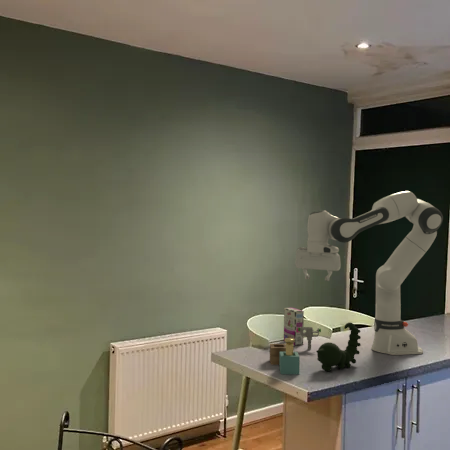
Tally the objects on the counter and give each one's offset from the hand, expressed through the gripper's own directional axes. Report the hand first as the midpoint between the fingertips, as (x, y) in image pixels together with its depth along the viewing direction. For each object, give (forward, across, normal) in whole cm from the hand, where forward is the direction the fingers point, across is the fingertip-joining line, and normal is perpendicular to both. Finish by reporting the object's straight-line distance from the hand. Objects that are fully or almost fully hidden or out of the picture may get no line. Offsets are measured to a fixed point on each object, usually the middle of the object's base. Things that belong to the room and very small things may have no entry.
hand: (317, 279), depth 232 cm
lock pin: (+34, 0, -24) cm, 42 cm away
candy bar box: (+34, -21, +18) cm, 44 cm away
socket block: (+34, 0, -24) cm, 42 cm away
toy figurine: (+34, +13, -8) cm, 38 cm away
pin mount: (+34, -10, -15) cm, 39 cm away
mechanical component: (+34, -9, +12) cm, 37 cm away
